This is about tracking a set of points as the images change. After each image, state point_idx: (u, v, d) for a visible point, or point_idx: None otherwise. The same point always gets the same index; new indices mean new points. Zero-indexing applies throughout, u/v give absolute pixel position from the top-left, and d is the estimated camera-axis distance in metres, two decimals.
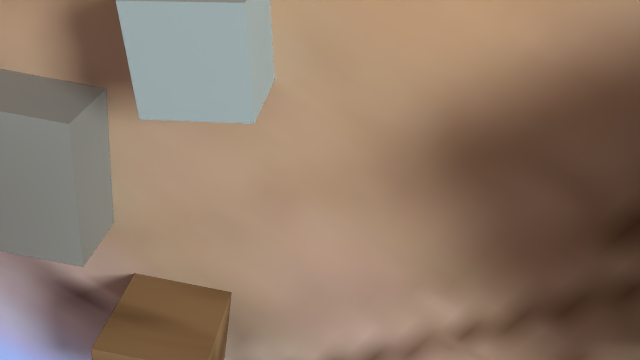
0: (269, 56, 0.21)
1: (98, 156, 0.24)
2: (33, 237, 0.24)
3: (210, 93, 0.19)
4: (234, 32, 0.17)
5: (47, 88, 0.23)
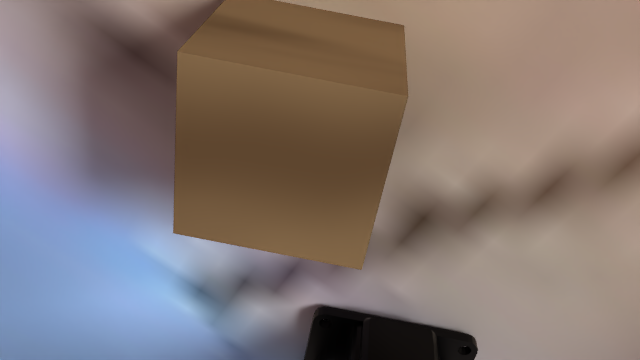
0: None
1: None
2: None
3: None
4: None
5: None
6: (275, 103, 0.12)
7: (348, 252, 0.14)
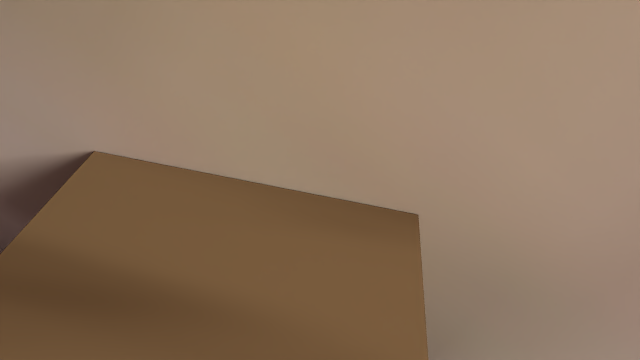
0: None
1: None
2: None
3: None
4: None
5: None
6: None
7: None
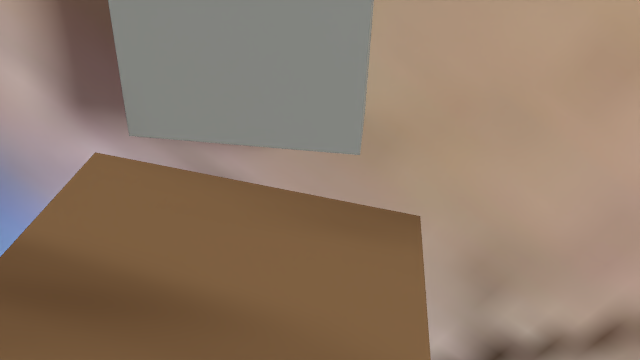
0: None
1: None
2: (291, 113, 0.16)
3: None
4: None
5: None
6: None
7: None
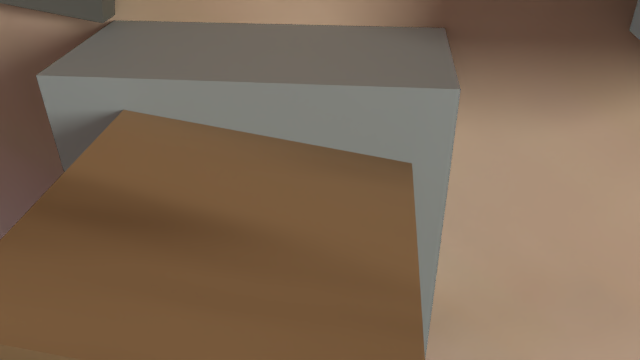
0: None
1: None
2: None
3: None
4: None
5: (343, 39, 0.11)
6: None
7: None
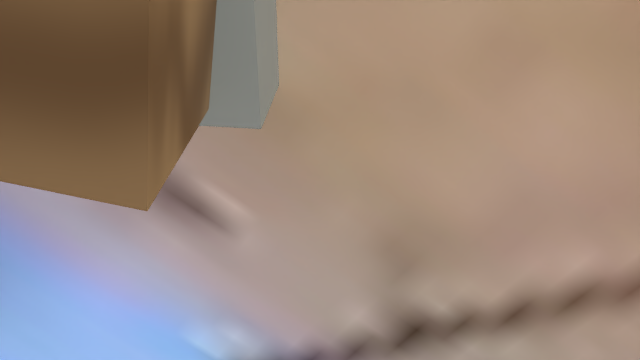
0: None
1: None
2: None
3: None
4: None
5: None
6: None
7: (127, 188, 0.12)
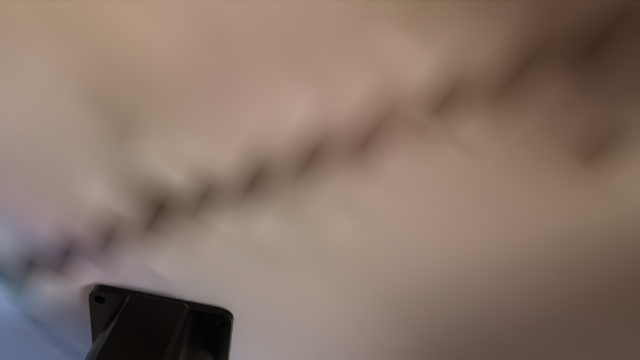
0: None
1: None
2: None
3: None
4: None
5: None
6: None
7: None
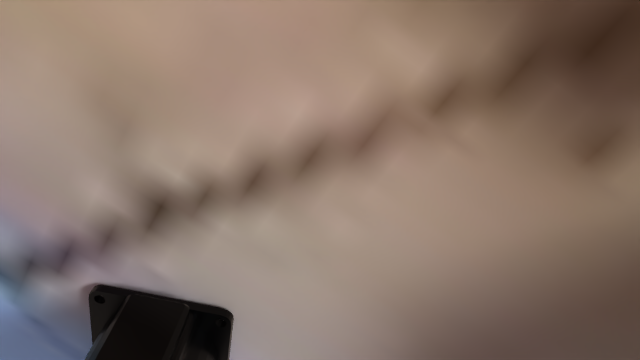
0: None
1: None
2: None
3: None
4: None
5: None
6: None
7: None
